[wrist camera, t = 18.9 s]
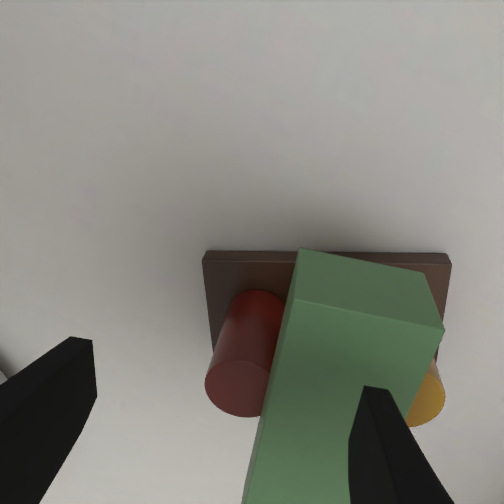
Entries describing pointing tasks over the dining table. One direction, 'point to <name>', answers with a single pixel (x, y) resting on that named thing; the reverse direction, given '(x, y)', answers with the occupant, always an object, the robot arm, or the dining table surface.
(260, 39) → the dining table surface
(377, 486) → the robot arm
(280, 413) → the bar
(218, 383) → the rod stand
